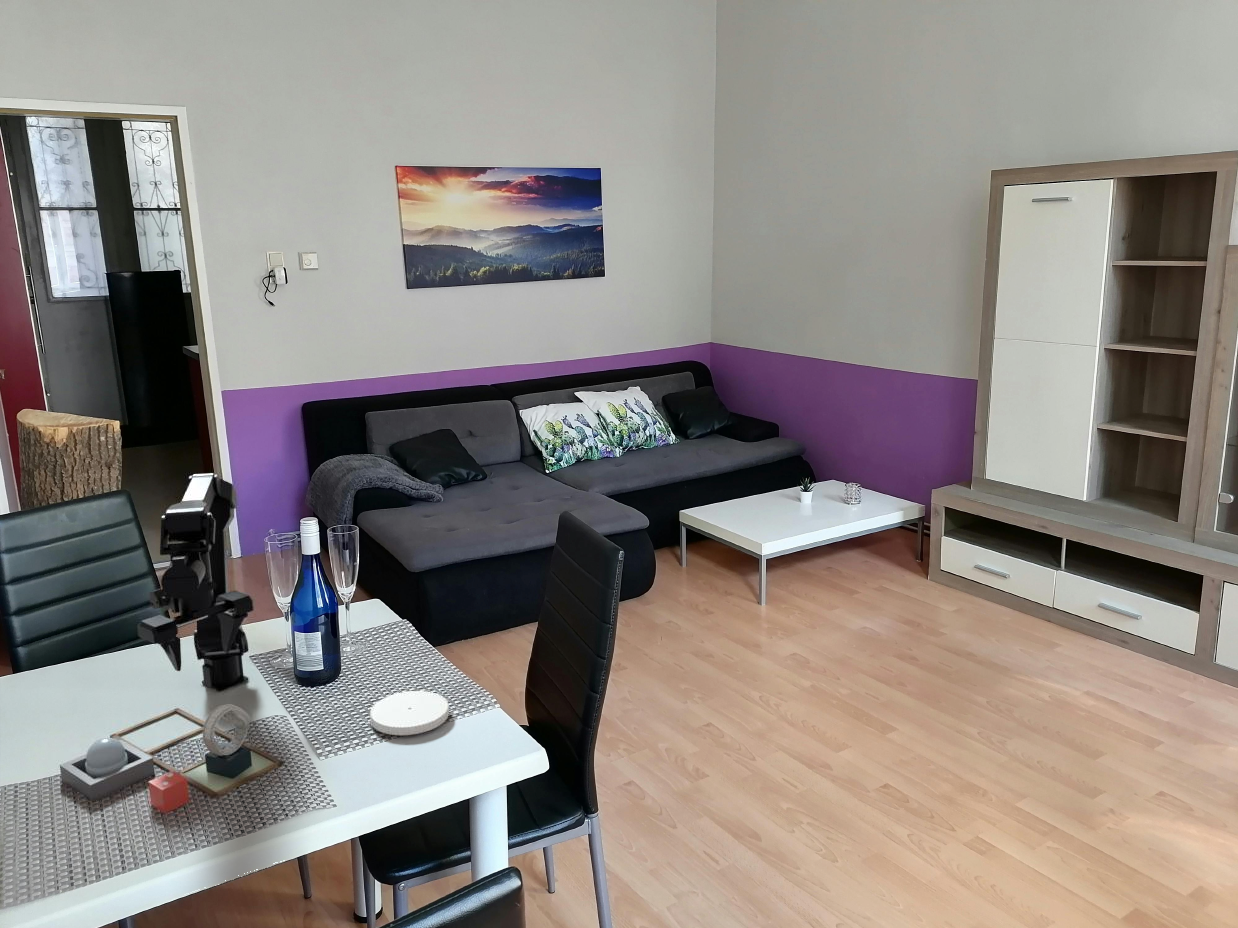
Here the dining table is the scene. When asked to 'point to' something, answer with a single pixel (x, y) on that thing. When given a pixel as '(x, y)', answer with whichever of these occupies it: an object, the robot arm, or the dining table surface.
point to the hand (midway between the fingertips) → (202, 660)
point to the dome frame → (111, 782)
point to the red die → (169, 791)
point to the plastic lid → (409, 713)
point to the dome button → (105, 757)
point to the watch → (228, 755)
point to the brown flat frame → (198, 772)
